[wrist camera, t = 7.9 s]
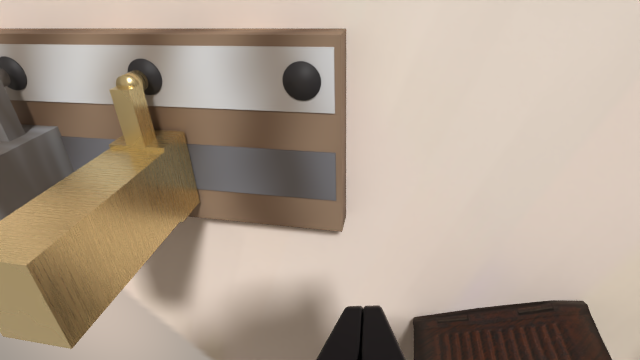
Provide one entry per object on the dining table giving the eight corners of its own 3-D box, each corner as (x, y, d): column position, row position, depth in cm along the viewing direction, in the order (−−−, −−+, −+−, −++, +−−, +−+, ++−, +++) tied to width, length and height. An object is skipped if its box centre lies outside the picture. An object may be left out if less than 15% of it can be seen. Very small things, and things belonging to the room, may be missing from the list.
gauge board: (346, 28, 18) (266, 124, 8) (345, 216, 23) (297, 409, 13) (-7, 28, 22) (-349, 94, 12) (63, 190, 27) (-134, 326, 17)
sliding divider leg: (169, 67, 19) (-29, 165, 10) (199, 201, 23) (73, 352, 14) (114, 66, 19) (-116, 158, 11) (153, 197, 23) (5, 340, 15)
